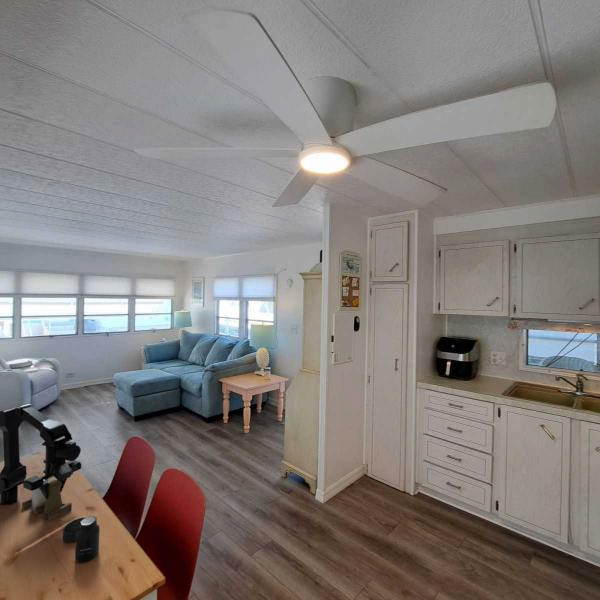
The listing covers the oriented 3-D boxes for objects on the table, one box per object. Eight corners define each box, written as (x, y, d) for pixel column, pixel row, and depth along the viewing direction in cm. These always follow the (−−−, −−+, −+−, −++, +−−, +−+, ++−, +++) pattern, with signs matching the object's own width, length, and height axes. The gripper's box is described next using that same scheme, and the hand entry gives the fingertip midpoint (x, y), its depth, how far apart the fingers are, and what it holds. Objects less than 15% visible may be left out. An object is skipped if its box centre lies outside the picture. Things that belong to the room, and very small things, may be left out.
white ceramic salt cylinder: (28, 507, 135) (29, 481, 135) (43, 500, 140) (44, 474, 140) (36, 511, 132) (37, 484, 132) (51, 503, 138) (52, 477, 138)
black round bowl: (69, 547, 115) (69, 536, 115) (58, 537, 120) (58, 526, 120) (96, 533, 123) (96, 522, 123) (84, 523, 127) (85, 513, 127)
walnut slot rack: (22, 510, 134) (22, 502, 134) (43, 499, 142) (44, 491, 142) (49, 523, 127) (50, 514, 127) (71, 511, 134) (71, 503, 134)
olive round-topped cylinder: (66, 505, 135) (66, 478, 135) (52, 514, 129) (53, 486, 129) (54, 503, 136) (54, 476, 136) (39, 512, 130) (40, 484, 130)
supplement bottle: (81, 567, 107) (81, 530, 107) (71, 558, 110) (71, 522, 110) (103, 553, 113) (103, 518, 113) (92, 545, 116) (93, 511, 116)
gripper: (40, 472, 121) (39, 514, 121) (90, 451, 138) (89, 488, 138) (22, 465, 125) (21, 506, 125) (73, 445, 142) (72, 481, 142)
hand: (53, 495), depth 133 cm, fingers closed on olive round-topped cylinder, 5 cm apart
